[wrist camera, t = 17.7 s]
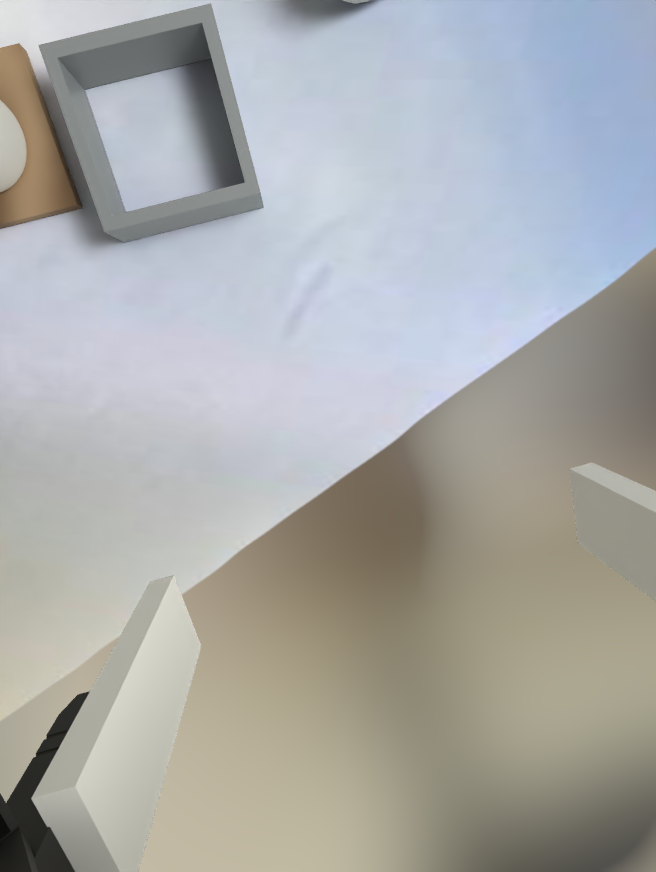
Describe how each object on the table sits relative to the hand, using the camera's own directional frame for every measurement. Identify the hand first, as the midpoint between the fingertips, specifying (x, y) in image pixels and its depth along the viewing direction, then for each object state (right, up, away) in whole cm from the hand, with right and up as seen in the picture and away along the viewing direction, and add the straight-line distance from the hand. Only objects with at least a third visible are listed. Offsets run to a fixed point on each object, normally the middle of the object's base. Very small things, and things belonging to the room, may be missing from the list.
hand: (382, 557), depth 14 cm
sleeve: (-16, +29, +24) cm, 41 cm away
